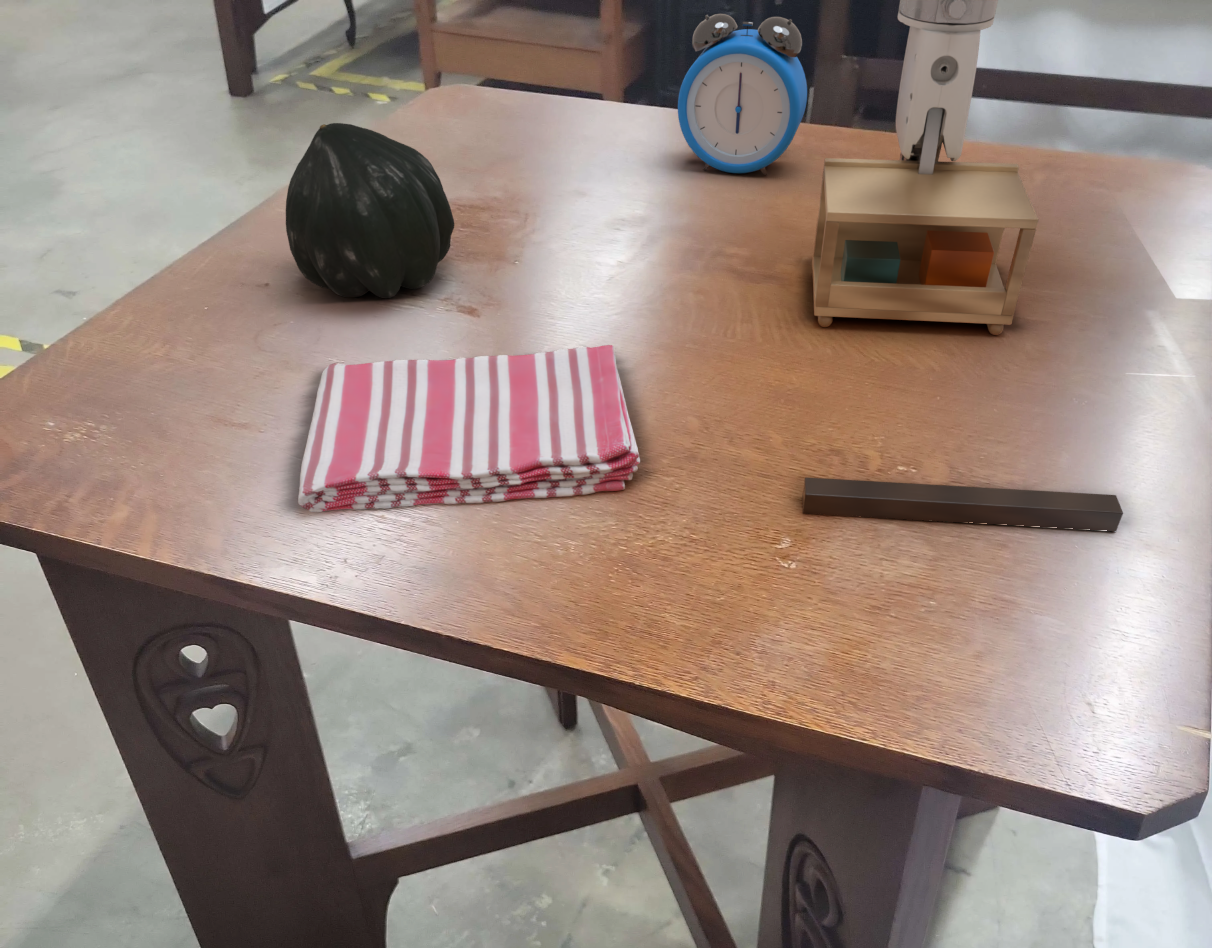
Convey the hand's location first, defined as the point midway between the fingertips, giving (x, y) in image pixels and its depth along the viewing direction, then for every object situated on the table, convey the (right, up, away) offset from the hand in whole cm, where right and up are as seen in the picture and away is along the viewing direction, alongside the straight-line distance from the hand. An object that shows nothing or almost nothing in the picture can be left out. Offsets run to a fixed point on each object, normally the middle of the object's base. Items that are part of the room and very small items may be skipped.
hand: (905, 225), depth 97 cm
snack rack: (-1, -9, -4) cm, 10 cm away
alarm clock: (-13, +14, +22) cm, 29 cm away
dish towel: (-37, -22, -19) cm, 47 cm away
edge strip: (-4, -29, -27) cm, 39 cm away
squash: (-48, -5, +1) cm, 48 cm away
